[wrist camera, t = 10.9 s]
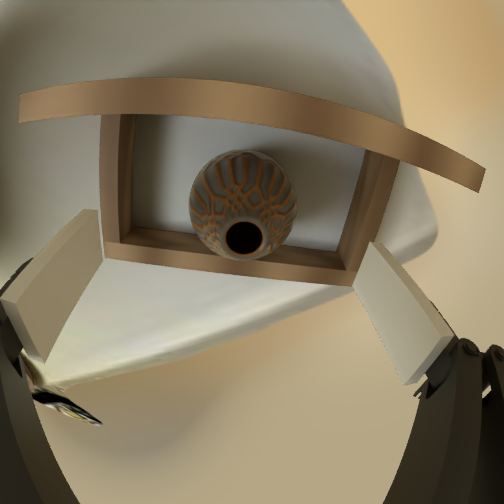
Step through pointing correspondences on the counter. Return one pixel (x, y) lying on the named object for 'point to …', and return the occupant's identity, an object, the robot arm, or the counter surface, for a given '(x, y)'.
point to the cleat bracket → (250, 111)
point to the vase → (242, 205)
